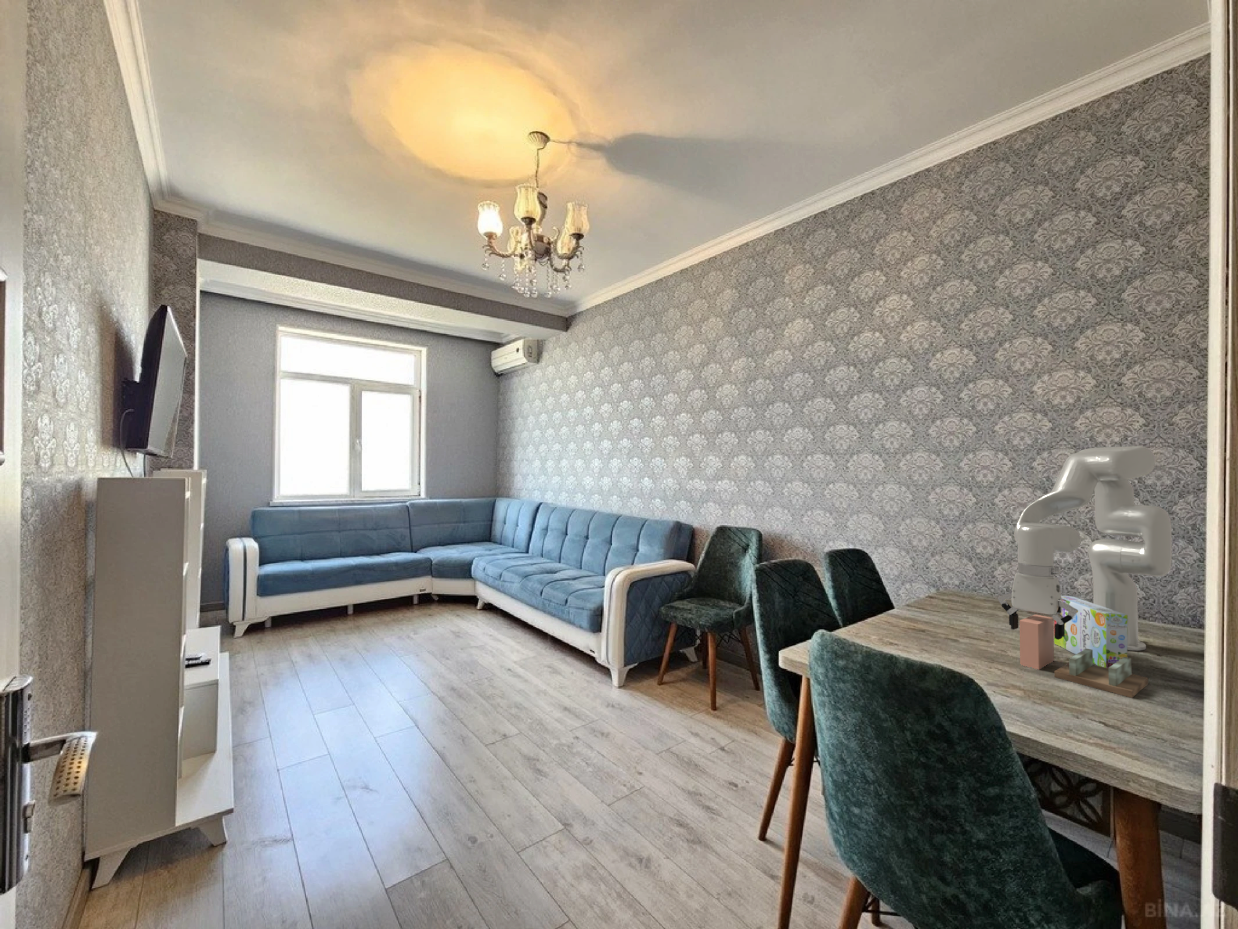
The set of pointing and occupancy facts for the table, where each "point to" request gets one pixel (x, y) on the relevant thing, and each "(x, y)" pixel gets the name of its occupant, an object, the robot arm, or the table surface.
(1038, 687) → the table surface
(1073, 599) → the snack box
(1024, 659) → the tall pink block
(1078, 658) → the shelf board
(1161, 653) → the table surface
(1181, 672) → the table surface
